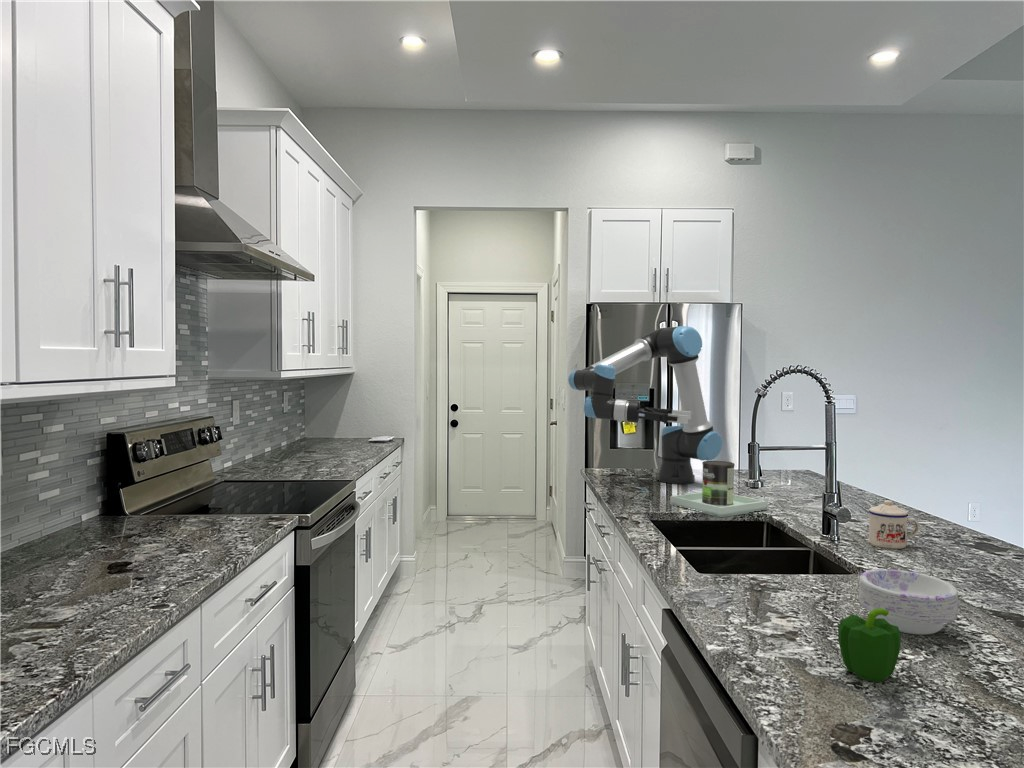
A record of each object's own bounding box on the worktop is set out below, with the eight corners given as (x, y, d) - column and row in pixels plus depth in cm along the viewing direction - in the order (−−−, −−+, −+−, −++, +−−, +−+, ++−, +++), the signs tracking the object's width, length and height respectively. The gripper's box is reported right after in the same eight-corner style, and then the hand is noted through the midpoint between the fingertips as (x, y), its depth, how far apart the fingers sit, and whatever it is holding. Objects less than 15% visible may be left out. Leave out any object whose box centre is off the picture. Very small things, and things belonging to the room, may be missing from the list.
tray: (715, 498, 233) (715, 490, 233) (767, 510, 214) (767, 501, 214) (670, 504, 222) (670, 496, 222) (720, 517, 203) (720, 508, 203)
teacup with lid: (874, 548, 168) (875, 503, 168) (863, 539, 177) (863, 496, 177) (925, 551, 166) (926, 505, 166) (911, 542, 175) (912, 498, 174)
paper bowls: (919, 648, 107) (920, 600, 107) (840, 616, 121) (840, 574, 121) (977, 634, 113) (978, 588, 113) (895, 605, 127) (896, 564, 127)
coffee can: (713, 508, 211) (714, 465, 211) (695, 502, 221) (696, 461, 221) (740, 506, 214) (741, 464, 214) (721, 500, 224) (722, 460, 224)
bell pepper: (840, 682, 95) (841, 614, 95) (834, 659, 103) (835, 596, 103) (906, 692, 92) (907, 622, 92) (895, 668, 100) (896, 603, 100)
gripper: (632, 417, 243) (690, 424, 236) (620, 425, 219) (685, 433, 212) (634, 397, 242) (692, 403, 235) (622, 403, 219) (687, 410, 212)
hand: (689, 417), depth 224 cm, fingers open, 13 cm apart
